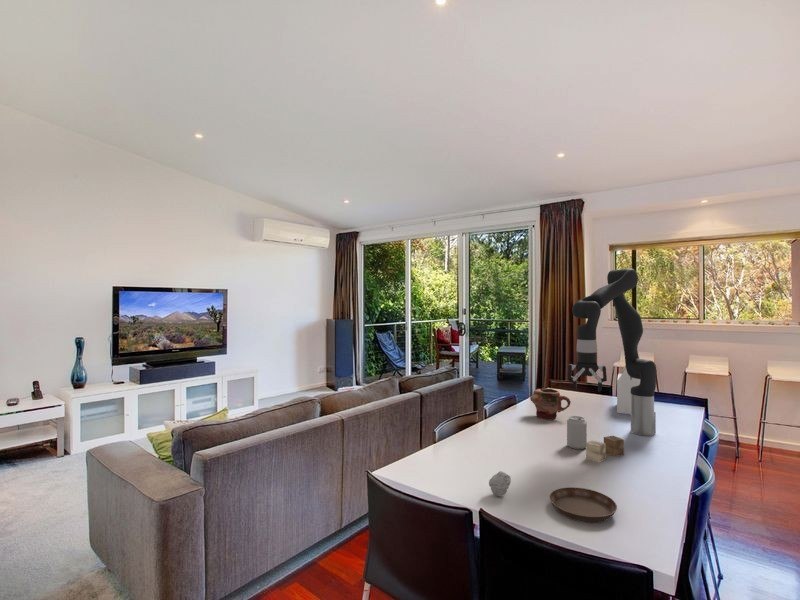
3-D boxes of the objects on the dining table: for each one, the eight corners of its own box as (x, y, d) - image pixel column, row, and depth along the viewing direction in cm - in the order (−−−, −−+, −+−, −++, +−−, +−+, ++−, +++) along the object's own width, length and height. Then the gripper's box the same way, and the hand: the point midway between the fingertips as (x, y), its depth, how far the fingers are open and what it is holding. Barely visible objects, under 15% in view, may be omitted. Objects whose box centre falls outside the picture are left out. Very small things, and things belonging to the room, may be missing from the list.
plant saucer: (548, 520, 116) (548, 509, 116) (550, 492, 132) (550, 483, 132) (621, 532, 110) (621, 521, 110) (613, 502, 126) (613, 492, 126)
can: (588, 450, 169) (588, 420, 169) (568, 449, 170) (568, 419, 170) (584, 444, 176) (584, 415, 176) (565, 443, 178) (565, 414, 178)
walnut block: (613, 450, 169) (613, 435, 169) (623, 454, 164) (623, 439, 164) (603, 452, 167) (603, 437, 167) (614, 456, 162) (614, 440, 162)
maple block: (592, 455, 163) (592, 440, 163) (605, 459, 160) (605, 443, 160) (586, 458, 160) (586, 442, 160) (599, 462, 156) (599, 446, 156)
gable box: (618, 404, 244) (618, 355, 244) (644, 406, 238) (644, 357, 238) (617, 413, 225) (616, 360, 225) (645, 416, 219) (645, 362, 219)
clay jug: (572, 417, 217) (572, 390, 217) (569, 423, 206) (568, 394, 206) (532, 412, 227) (532, 386, 227) (527, 417, 216) (527, 390, 216)
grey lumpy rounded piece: (515, 497, 128) (515, 474, 128) (495, 501, 126) (495, 478, 126) (503, 489, 134) (503, 467, 134) (484, 492, 132) (484, 470, 132)
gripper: (606, 350, 171) (606, 390, 171) (568, 349, 177) (568, 387, 177) (606, 352, 164) (607, 394, 164) (567, 351, 170) (567, 391, 170)
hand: (587, 390), depth 171 cm, fingers open, 8 cm apart
